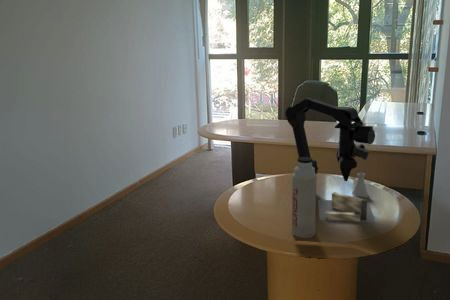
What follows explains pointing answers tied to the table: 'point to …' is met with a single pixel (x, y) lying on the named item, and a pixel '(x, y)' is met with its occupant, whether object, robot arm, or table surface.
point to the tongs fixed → (348, 214)
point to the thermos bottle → (304, 198)
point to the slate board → (326, 206)
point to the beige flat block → (346, 203)
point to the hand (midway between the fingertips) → (344, 177)
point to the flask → (360, 186)
